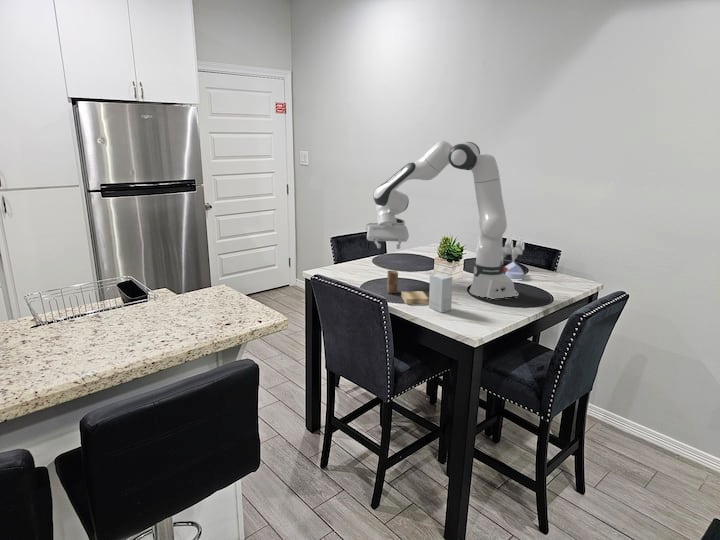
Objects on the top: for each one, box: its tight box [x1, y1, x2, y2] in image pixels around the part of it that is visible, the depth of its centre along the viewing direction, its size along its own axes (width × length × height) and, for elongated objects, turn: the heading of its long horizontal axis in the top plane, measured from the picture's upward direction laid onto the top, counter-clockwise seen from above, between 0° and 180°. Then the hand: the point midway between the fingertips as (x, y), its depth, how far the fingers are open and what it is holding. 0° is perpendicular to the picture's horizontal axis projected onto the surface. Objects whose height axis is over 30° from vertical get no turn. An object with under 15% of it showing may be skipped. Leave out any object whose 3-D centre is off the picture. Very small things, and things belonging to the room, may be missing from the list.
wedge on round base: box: [504, 261, 525, 279], centre depth 253 cm, size 9×7×13 cm
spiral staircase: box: [475, 235, 525, 266], centre depth 274 cm, size 18×18×25 cm
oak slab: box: [400, 290, 429, 305], centre depth 214 cm, size 10×10×3 cm
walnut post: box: [386, 270, 399, 294], centre depth 222 cm, size 4×4×10 cm
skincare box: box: [428, 272, 453, 314], centre depth 203 cm, size 8×6×15 cm
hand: (388, 248), depth 230 cm, fingers open, 8 cm apart
